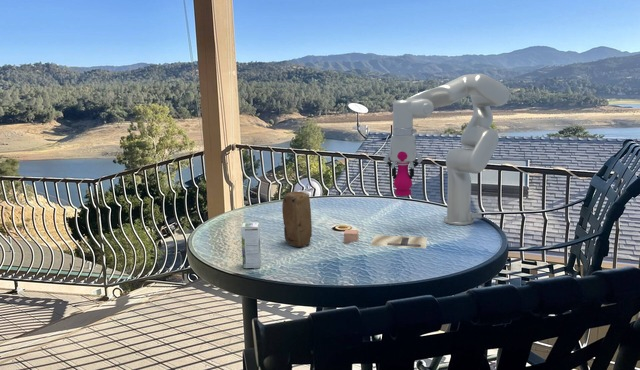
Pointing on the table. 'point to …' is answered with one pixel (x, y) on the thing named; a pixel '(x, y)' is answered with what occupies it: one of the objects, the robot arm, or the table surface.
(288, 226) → the block
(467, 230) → the table surface
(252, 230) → the syrup box
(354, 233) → the block
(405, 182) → the pepper mill
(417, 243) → the board
